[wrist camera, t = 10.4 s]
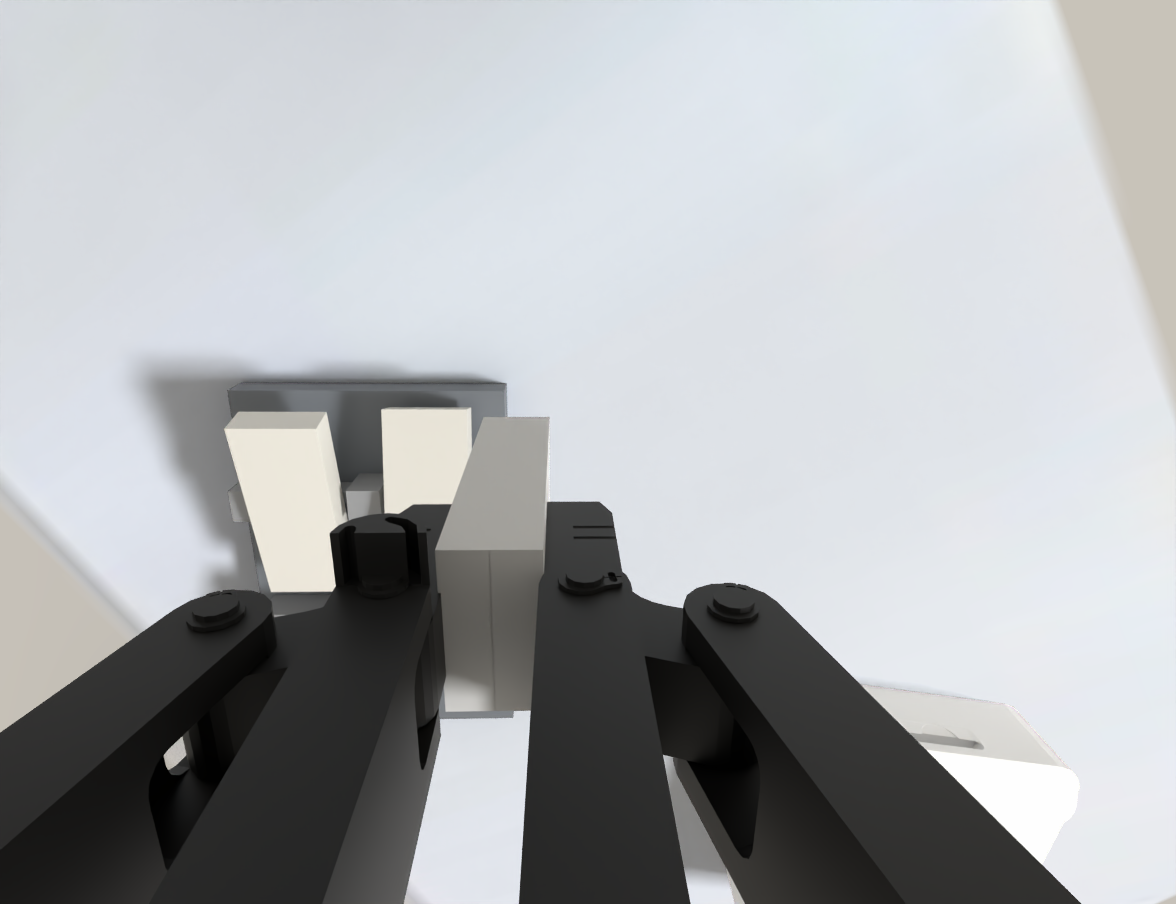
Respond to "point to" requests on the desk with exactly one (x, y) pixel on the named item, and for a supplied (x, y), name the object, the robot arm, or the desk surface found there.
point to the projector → (989, 762)
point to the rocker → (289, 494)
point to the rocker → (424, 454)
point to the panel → (356, 454)
